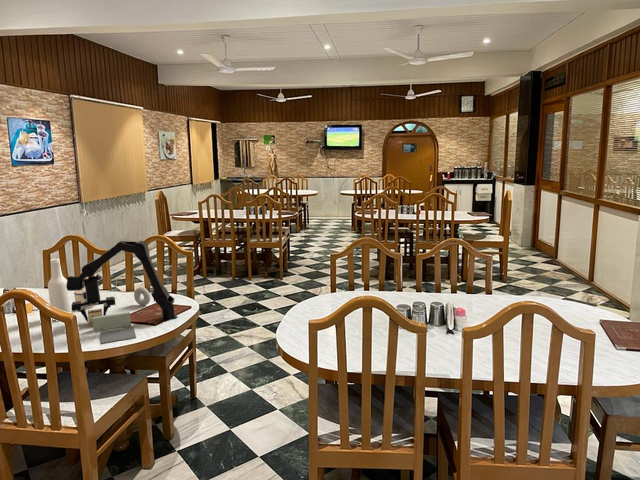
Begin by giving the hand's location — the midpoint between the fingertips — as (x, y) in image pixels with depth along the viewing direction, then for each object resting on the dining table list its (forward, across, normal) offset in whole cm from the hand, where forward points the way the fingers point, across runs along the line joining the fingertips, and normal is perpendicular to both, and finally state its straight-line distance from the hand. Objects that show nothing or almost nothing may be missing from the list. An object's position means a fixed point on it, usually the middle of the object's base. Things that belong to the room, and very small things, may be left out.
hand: (95, 320), depth 229 cm
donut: (+2, -23, -17) cm, 28 cm away
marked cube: (+1, 0, 0) cm, 1 cm away
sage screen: (+1, -7, +10) cm, 12 cm away
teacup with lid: (+1, +4, -30) cm, 30 cm away
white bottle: (+1, +15, -16) cm, 22 cm away
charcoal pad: (+1, -9, +22) cm, 24 cm away
